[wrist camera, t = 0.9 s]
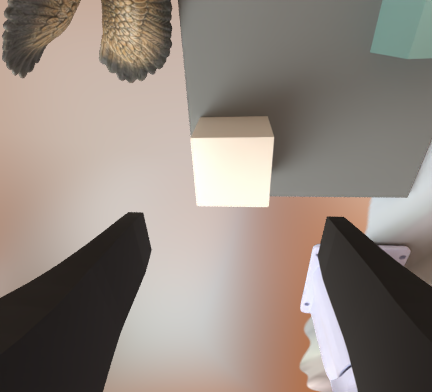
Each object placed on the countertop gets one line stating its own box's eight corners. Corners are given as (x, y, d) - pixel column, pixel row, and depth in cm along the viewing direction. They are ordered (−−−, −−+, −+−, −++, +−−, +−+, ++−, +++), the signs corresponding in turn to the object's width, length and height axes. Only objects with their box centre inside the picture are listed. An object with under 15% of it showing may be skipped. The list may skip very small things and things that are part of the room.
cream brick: (263, 176, 20) (268, 206, 16) (204, 176, 20) (196, 205, 17) (267, 116, 17) (274, 137, 14) (199, 117, 18) (190, 138, 14)
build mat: (404, 194, 20) (407, 197, 20) (197, 192, 21) (196, 195, 21) (563, -192, 10) (574, -200, 10) (165, -149, 12) (163, -154, 11)
